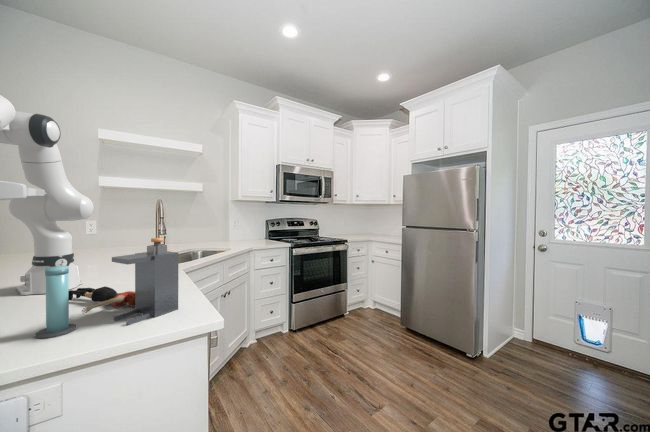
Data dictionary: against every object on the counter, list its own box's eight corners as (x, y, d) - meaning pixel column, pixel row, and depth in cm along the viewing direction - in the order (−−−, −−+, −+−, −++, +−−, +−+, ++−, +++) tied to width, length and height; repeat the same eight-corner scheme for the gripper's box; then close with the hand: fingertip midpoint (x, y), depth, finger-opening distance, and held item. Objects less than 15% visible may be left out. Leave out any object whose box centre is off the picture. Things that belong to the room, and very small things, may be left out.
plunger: (148, 252, 89) (148, 238, 89) (158, 250, 92) (158, 237, 92) (155, 252, 87) (155, 239, 87) (165, 251, 90) (165, 238, 90)
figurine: (22, 314, 86) (96, 325, 79) (22, 296, 86) (96, 306, 79) (112, 288, 114) (172, 295, 107) (112, 275, 114) (172, 281, 107)
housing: (110, 320, 82) (109, 248, 81) (159, 304, 96) (159, 243, 95) (130, 326, 78) (129, 251, 77) (178, 309, 92) (178, 245, 91)
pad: (29, 334, 72) (29, 332, 72) (67, 323, 79) (67, 321, 79) (43, 341, 69) (43, 339, 69) (82, 328, 76) (82, 326, 76)
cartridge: (42, 331, 73) (41, 268, 72) (64, 324, 77) (63, 265, 77) (50, 334, 71) (49, 270, 71) (72, 327, 75) (72, 266, 75)
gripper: (-62, 202, 67) (19, 203, 80) (-33, 203, 58) (53, 204, 71) (-62, 176, 67) (19, 182, 79) (-33, 174, 58) (52, 180, 71)
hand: (35, 192), depth 75 cm, fingers open, 8 cm apart
